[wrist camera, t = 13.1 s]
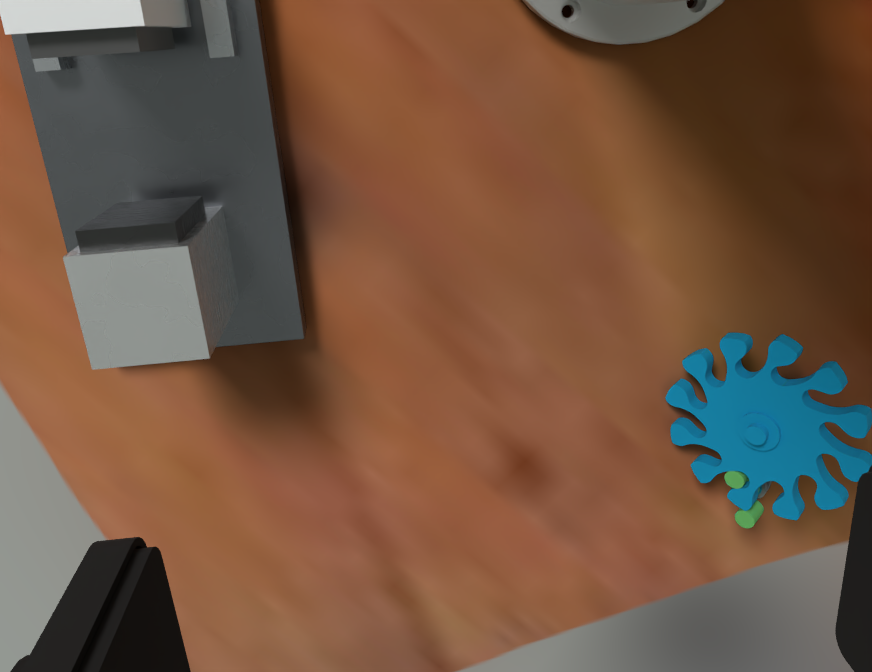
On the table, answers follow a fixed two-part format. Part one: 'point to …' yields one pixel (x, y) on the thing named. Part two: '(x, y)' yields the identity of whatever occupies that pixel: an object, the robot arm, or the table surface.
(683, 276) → the table surface
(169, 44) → the block
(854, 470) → the gear
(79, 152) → the rail
